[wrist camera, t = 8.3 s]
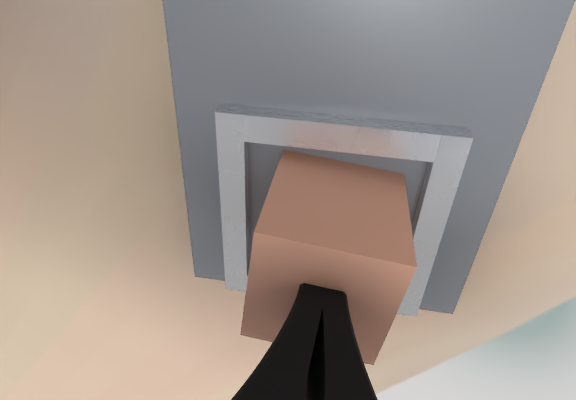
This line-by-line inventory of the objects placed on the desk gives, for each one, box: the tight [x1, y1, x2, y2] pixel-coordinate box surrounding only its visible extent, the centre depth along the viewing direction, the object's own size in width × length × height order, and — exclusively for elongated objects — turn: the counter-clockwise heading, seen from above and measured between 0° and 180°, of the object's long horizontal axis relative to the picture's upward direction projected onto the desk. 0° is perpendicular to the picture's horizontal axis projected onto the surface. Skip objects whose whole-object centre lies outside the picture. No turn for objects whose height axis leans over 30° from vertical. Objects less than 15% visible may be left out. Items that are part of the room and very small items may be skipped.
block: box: [241, 149, 417, 365], centre depth 15 cm, size 4×4×5 cm
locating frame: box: [215, 103, 473, 316], centre depth 17 cm, size 8×8×1 cm
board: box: [163, 0, 575, 314], centre depth 14 cm, size 20×12×1 cm, turn 178°
